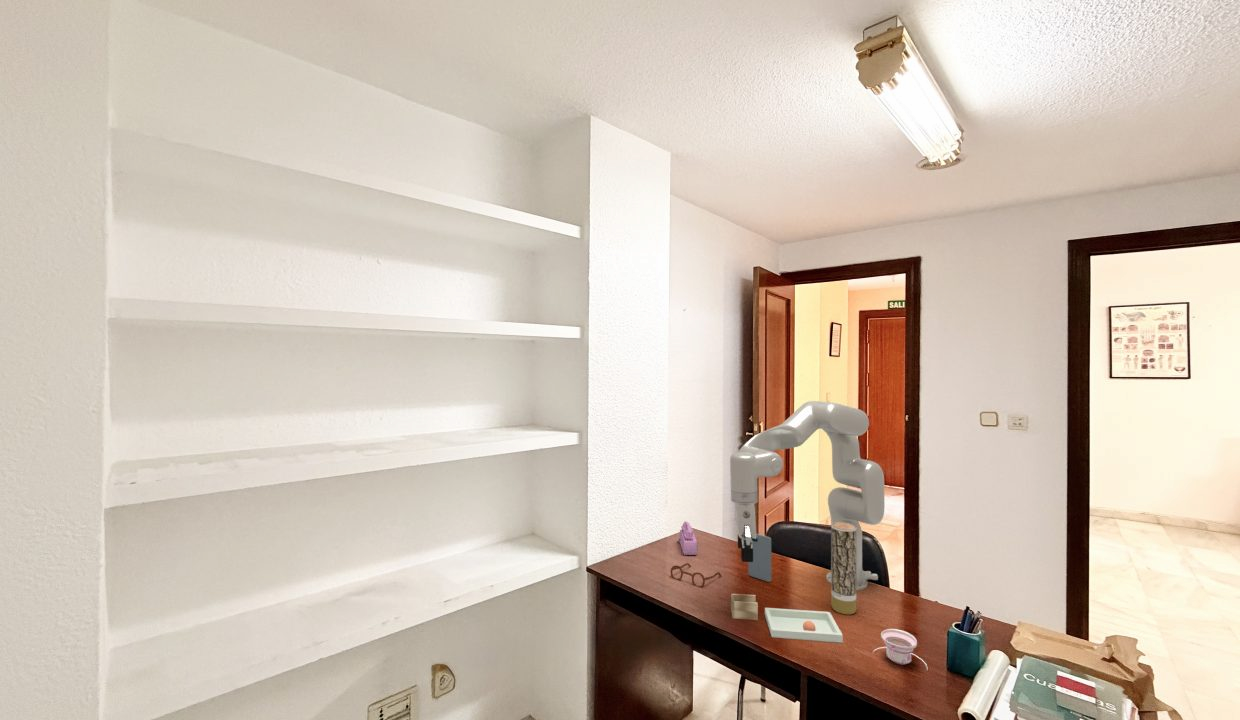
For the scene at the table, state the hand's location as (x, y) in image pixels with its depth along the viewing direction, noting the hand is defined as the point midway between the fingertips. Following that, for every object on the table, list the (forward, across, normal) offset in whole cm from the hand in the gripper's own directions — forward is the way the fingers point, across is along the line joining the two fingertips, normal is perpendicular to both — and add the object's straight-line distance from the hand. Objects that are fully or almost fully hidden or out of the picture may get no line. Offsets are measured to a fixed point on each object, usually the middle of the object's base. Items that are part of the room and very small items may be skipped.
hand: (745, 554), depth 143 cm
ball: (+15, -8, -17) cm, 24 cm away
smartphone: (+19, +25, -7) cm, 32 cm away
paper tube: (+19, +7, -29) cm, 35 cm away
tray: (+18, -6, -14) cm, 24 cm away
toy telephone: (+19, +51, +17) cm, 57 cm away
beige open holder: (+18, -1, +1) cm, 18 cm away
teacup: (+19, -18, -35) cm, 43 cm away
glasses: (+19, +24, +14) cm, 33 cm away
